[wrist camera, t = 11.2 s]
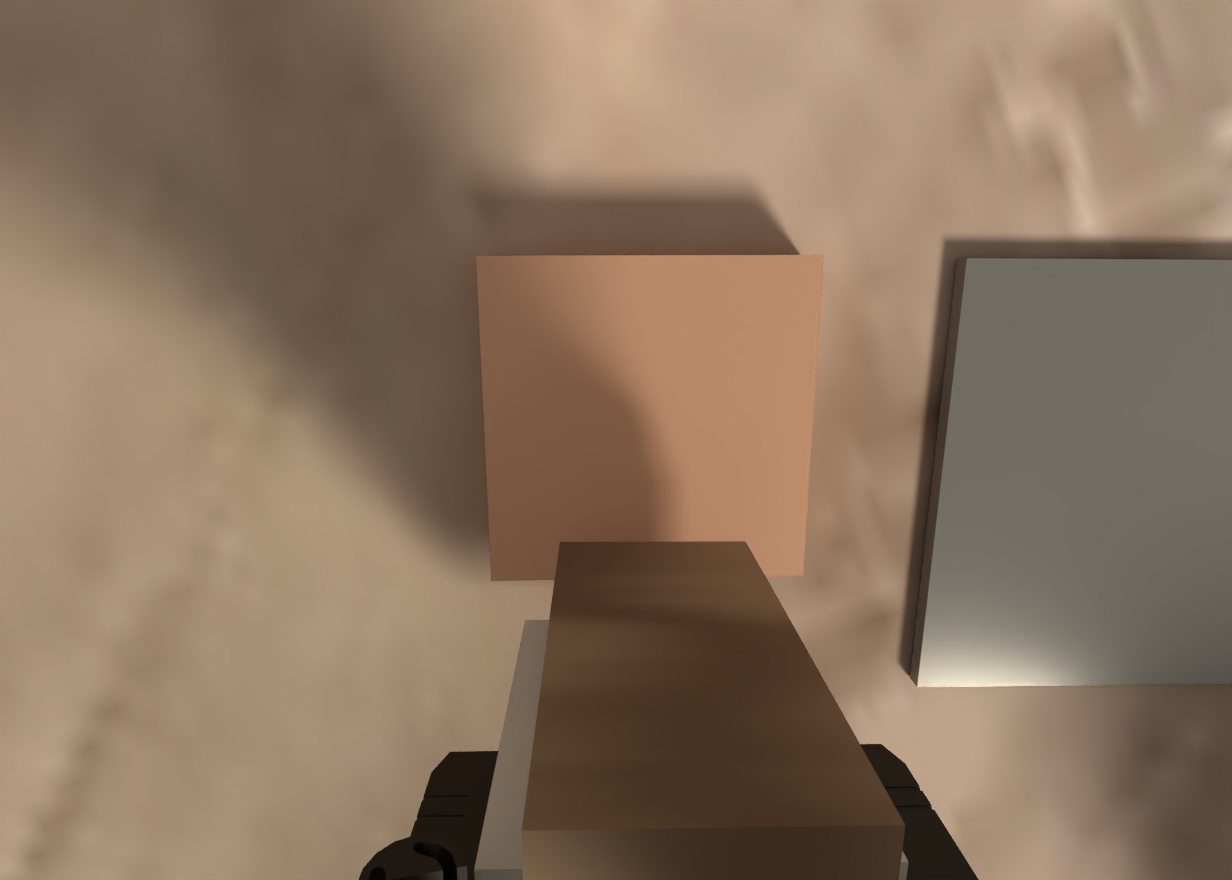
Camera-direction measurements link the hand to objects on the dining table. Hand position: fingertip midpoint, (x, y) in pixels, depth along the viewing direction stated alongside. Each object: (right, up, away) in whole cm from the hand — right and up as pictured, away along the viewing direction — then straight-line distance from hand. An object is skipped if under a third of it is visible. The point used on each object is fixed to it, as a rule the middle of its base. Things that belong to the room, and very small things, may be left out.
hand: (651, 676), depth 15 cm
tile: (0, +2, +4) cm, 4 cm away
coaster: (+14, +4, +4) cm, 15 cm away
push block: (0, 0, 0) cm, 0 cm away
